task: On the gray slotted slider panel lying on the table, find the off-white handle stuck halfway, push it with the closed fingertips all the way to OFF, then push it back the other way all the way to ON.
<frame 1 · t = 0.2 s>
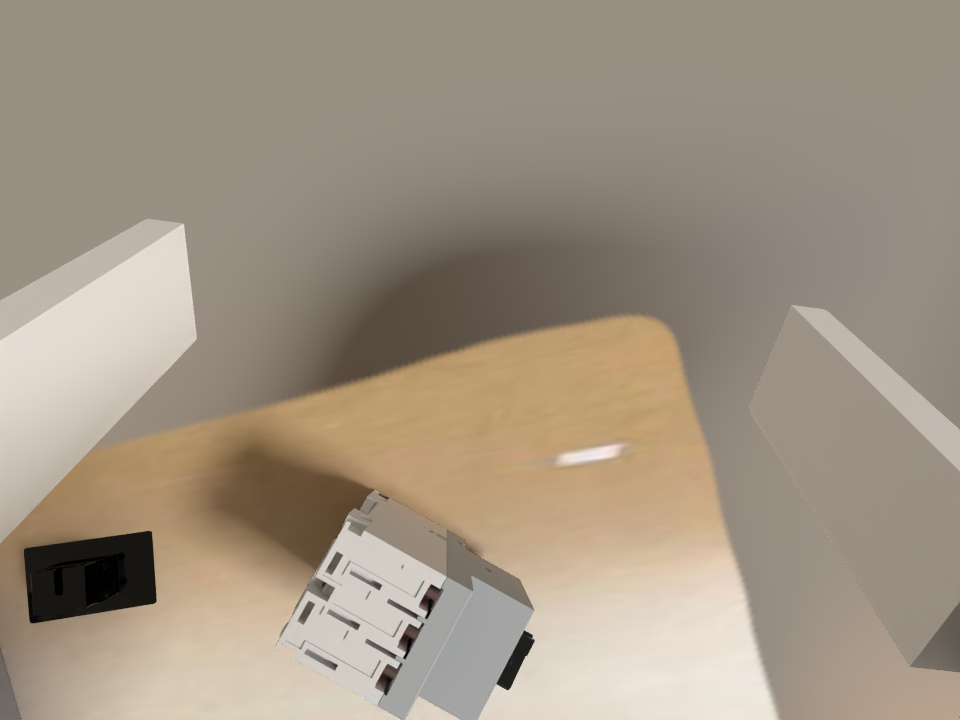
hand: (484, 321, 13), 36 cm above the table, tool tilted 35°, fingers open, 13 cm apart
circuit breaker: (430, 576, 48), on the table
black stepped block: (97, 574, 47), on the table
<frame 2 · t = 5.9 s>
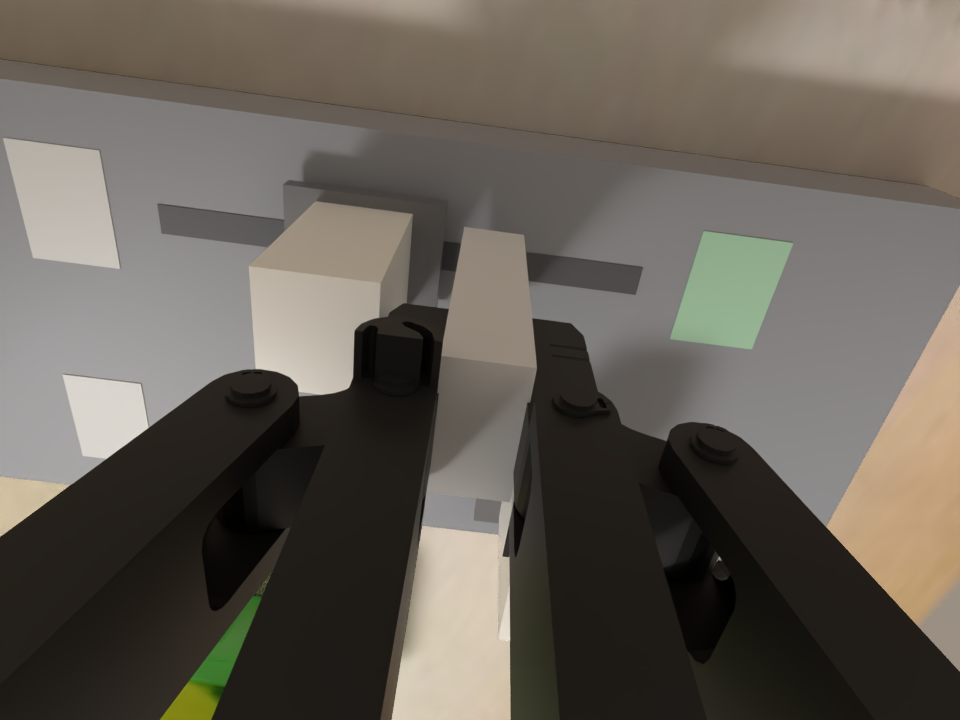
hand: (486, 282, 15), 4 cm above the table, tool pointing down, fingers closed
tripped breaker handle: (345, 287, 14), point 6 cm above the table, slide at 4.1 cm, touching gripper
fruit basket: (241, 615, 29), on the table
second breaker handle: (546, 537, 17), point 6 cm above the table, slide at 10.0 cm
gray slotted slider panel: (409, 318, 21), on the table
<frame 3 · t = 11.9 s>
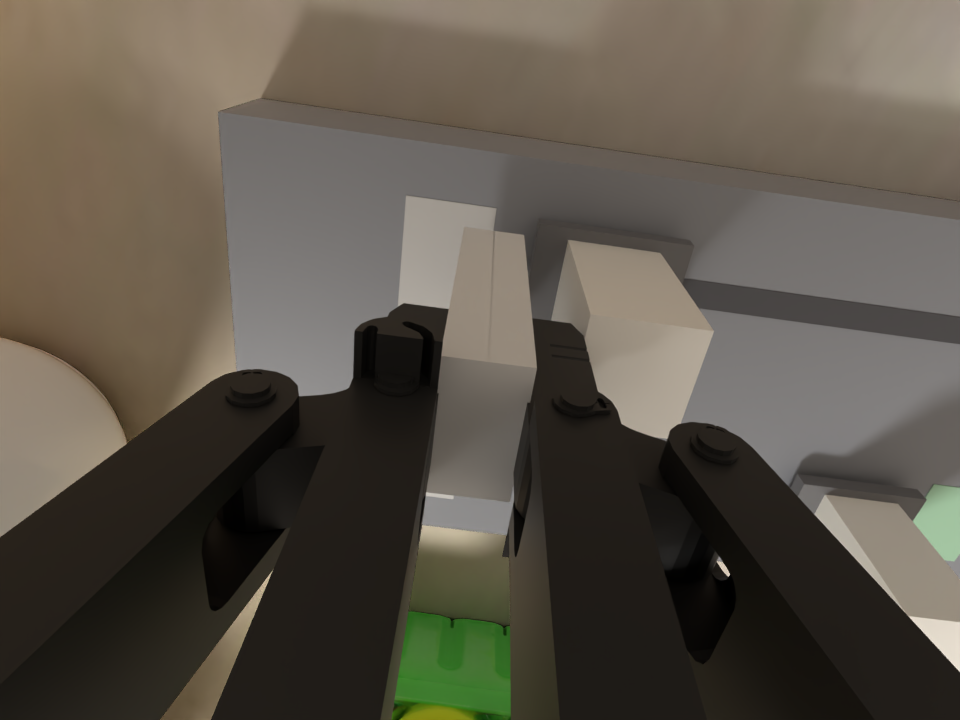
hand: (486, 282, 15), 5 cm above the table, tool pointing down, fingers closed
tripped breaker handle: (614, 326, 14), point 6 cm above the table, slide at 0.3 cm, touching gripper
fruit basket: (447, 637, 30), on the table
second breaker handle: (877, 577, 18), point 6 cm above the table, slide at 10.0 cm
gray slotted slider panel: (694, 358, 21), on the table
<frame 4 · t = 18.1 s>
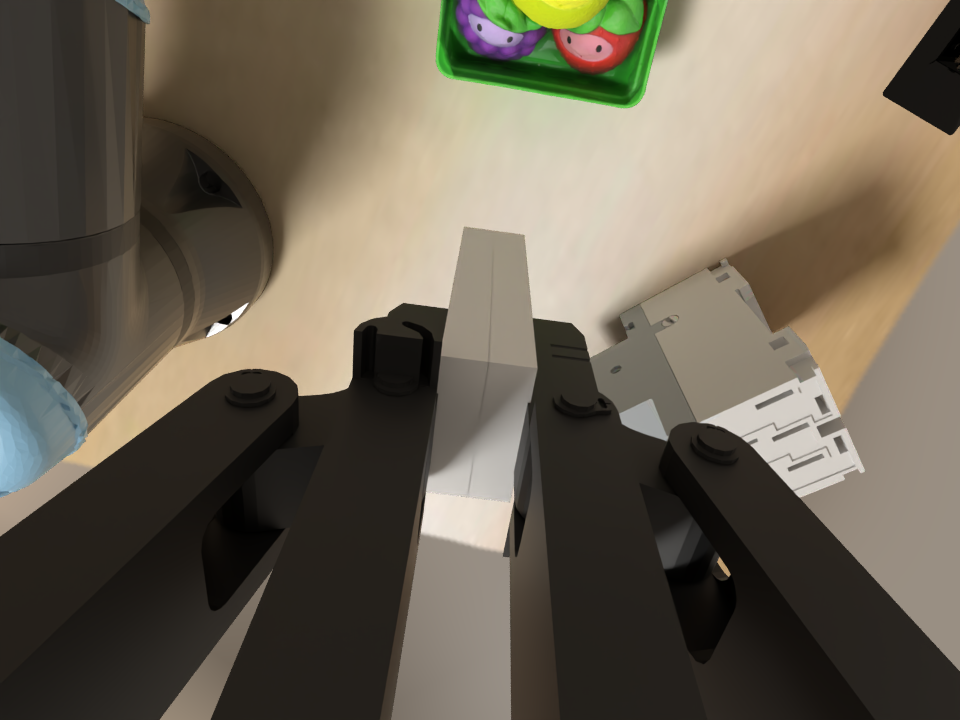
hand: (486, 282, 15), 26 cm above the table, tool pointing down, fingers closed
circuit breaker: (653, 345, 46), on the table
fruit basket: (547, 2, 35), on the table
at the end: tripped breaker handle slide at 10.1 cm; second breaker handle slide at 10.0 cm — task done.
